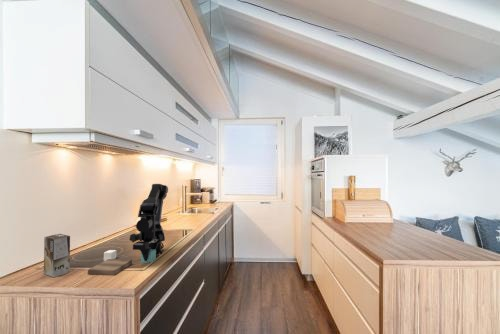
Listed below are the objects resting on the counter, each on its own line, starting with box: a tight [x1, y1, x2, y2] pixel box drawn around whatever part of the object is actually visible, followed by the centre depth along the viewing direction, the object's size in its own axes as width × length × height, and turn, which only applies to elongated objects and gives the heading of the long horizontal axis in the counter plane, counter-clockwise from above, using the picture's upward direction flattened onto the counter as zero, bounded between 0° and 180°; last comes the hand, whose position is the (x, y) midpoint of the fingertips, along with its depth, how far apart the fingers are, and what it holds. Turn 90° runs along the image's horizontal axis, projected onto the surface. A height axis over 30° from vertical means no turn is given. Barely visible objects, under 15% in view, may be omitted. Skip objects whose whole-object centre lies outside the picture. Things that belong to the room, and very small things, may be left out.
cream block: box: [103, 249, 118, 262], centre depth 121 cm, size 4×4×4 cm
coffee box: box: [43, 233, 71, 278], centre depth 104 cm, size 9×6×16 cm
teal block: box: [140, 249, 157, 264], centre depth 118 cm, size 5×5×5 cm
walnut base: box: [87, 258, 133, 276], centre depth 108 cm, size 13×12×2 cm
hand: (148, 258), depth 118 cm, fingers closed on teal block, 5 cm apart
